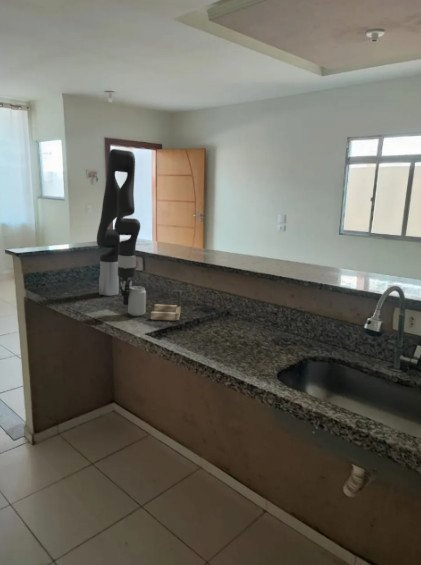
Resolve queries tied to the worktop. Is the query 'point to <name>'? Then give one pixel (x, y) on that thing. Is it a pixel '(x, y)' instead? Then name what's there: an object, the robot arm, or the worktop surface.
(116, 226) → the robot arm
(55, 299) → the worktop surface
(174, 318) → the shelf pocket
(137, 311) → the can
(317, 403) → the worktop surface
